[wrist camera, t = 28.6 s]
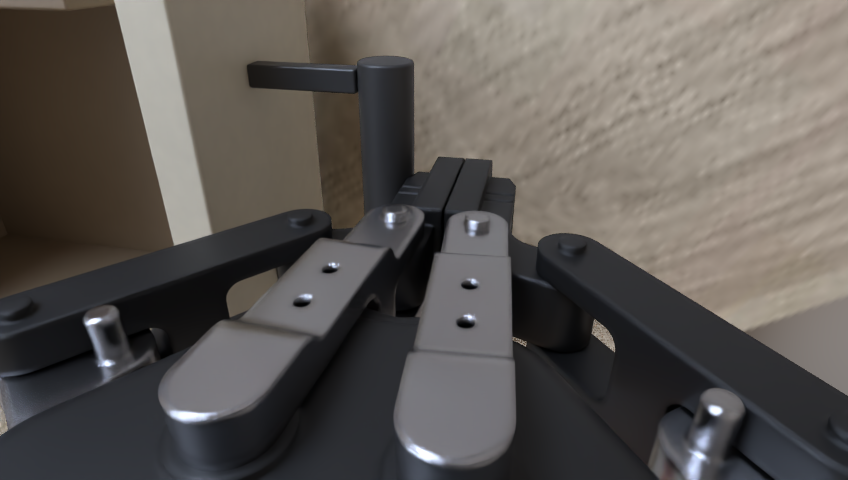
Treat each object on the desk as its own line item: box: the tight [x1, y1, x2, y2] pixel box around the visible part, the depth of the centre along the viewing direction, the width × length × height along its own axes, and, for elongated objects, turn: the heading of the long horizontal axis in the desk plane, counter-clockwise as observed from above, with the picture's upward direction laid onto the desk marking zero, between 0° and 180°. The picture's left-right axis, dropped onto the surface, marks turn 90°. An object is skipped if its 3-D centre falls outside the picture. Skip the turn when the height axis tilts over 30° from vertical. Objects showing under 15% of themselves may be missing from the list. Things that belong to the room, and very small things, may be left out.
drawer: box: [0, 0, 414, 331], centre depth 17 cm, size 19×12×7 cm, turn 89°
